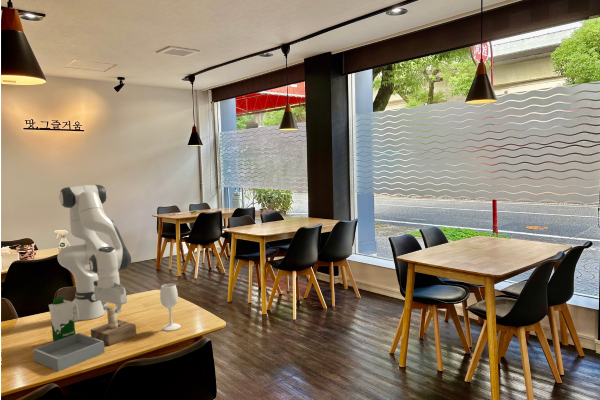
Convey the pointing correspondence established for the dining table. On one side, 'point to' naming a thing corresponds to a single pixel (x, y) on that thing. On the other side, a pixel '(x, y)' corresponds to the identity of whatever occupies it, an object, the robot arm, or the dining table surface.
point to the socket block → (114, 332)
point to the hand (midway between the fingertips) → (112, 311)
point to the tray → (68, 351)
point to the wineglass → (169, 303)
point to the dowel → (112, 318)
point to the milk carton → (62, 318)
